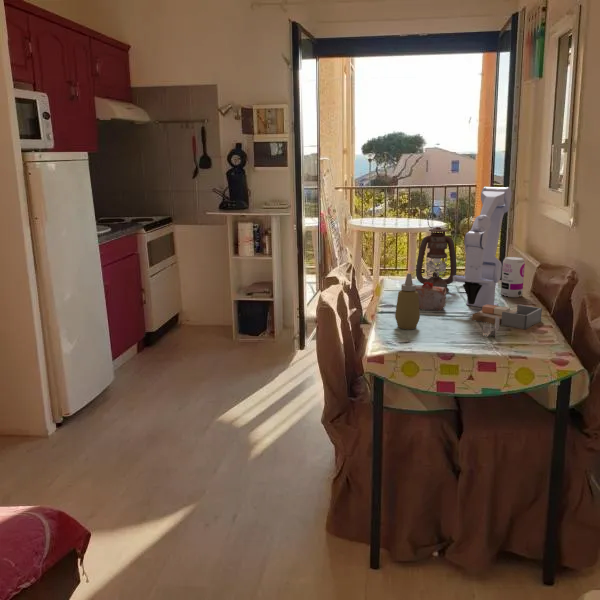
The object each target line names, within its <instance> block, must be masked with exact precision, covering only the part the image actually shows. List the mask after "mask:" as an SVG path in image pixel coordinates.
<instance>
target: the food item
mask: <svg viewBox="0 0 600 600" xmlns="http://www.w3.org/2000/svg"><path fill="white" fill-rule="evenodd" d="M415 285H416V290H415V291H417V292H418V295H419V310H422V309H423V310H422V311H440V310H441V311H442V310H443V309H444V308H445V307H446V302H447V301H446V299H447V293H446V288H445V287H434V286H433V283H429V282H425V283H424V284H415Z"/></svg>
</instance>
